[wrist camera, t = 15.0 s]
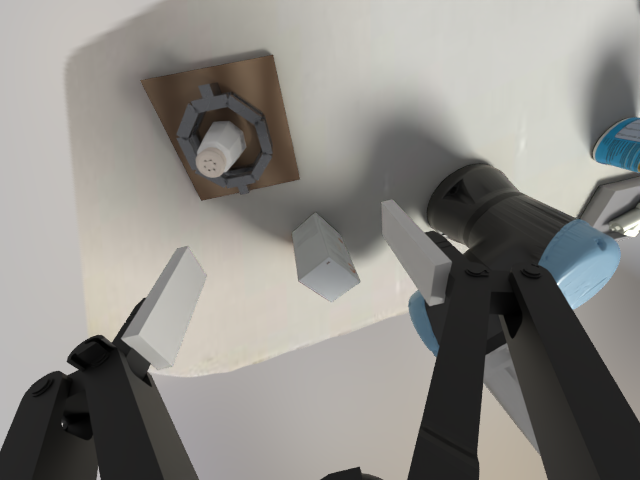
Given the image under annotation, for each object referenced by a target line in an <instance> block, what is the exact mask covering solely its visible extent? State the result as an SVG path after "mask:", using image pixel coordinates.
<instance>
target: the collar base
mask: <svg viewBox="0 0 640 480" xmlns="http://www.w3.org/2000/svg"><path fill="white" fill-rule="evenodd" d="M140 81H141V83H142V85H143V87H144V89H145V91H146V93H147V95H148V97H149V99H150V101H151V102H152V104H153V106H154V108H155V110H156V112H157V114H158V116H159V118H160V120H161V122H162V124H163V126H164V128H165V130H166V132H167V134H168V136H169V138H170V140H171V142H172V144H173V146H174V148H175V150H176V152H177V154H178V155H179V157H180V159H181V161H182V163H183V165H184V167H185V169H186V171H187V173H188V175H189V177H190V179H191V181H192V183H193V185H194V187H195V189H196V191H197V193H198V195H199V197H200V199H201V201H202V200H207V199H211V198H216V197H221V196H225V195H230V194H234V193H239V189H238V187H233V188H227V186H226V187H225V188H223V187H221V186H219V185H217V184H215V183H213V182H211V181H209V180H208V179H206V178H204V177H202V176H200V175H198V174H196V173H195V171H196V170H193V171H192V169H191V167H190V165H189V163H188V161H187V159H186V157H185V155H184V153H183V151H182V149H181V147H180V145H179V143H178V141H177V139H176V138H178V137H179V136H177V135H176V134H177V131H178V129H179V126H180V123H181V121H182V118H183V116H184V113H185V110H186V108H187V105H188V103H191V101H193V100H197V99H199V98H202V95H201V92H200V90H199V87H198V86H200V85H205V84H211V83H217V82H218V84H219V87H220V90H221V93H227V92H233V94H234V93H235V92H236V93H237V94H238V95H240V96H241V97H243V98H244V99H245V100H247V101H248V102H250V103H251V104H252V105H254V106H255V107H257V108H258V109H259V110H261V111H262V112H263V114H262V115H265V117H266V121H267V125H268V128H269V132H270V136H271V140H272V144H273V147H272V150H273V154H272V158H271V160H270V162H269V163H268V165H267V167H266V168H265V170H264V172H263V173H262V175H261V177H260V179H259V180H258V181H257V180H256V183H252V184H251V185H250V190H253V189H258V188H262V187H267V186H271V185H276V184H281V183H285V182H290V181H295V180H299V179H300V177H299V173H298V168H297V163H296V159H295V154H294V150H293V145H292V140H291V136H290V131H289V127H288V122H287V117H286V113H285V108H284V104H283V99H282V95H281V90H280V85H279V81H278V76H277V72H276V67H275V62H274V58H273V55H270V56H264V57H259V58H254V59H249V60H244V61H239V62H233V63H228V64H223V65H218V66H213V67H207V68H202V69H197V70H192V71H187V72H181V73H176V74H171V75H166V76H161V77H156V78H150V79H145V80H140ZM218 121H230V122H232V123H233V124H234V125H235V126H237V127H238V128H239V129H240V130H242V131H243V134H244V139H245V143H246V148H245V150H244V151H243V153H242V154H241V156H240V157H239V158H238V160H237V161H236V162H235V163H234V164H233V165H232V166H231V168H233V167H237V166H242V165H247V164H252V163H254V161H255V159H256V157H257V156H258V154H259V152H260V150H261V145H260V142H259V138H258V135H257V132H256V128H255V125H254V124H252V123H251V122H249V121H248V120H246V119H245V118H243V117H242V116H240V115H239V114H237V113H236V112H234V111H233V110H231V109H230V108H228V107H225V108H220V109H215V110H210V111H207V112H206V114H205V116H204V119H203V121H202V124H201V126H200V128H199V133H200V135H201V138H202V140H203V138H204V136H205V134H206V133H207V131H208V130H209V128H210V126H211V125H212V123H213V122H218Z"/></svg>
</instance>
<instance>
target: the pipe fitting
mask: <svg viewBox="0 0 640 480" xmlns="http://www.w3.org/2000/svg"><path fill="white" fill-rule="evenodd" d="M609 225H610V226H609V228H608V229H609V230H610V231H617V232H618V233H621V234H623V235H627V236H633V237H635V236H636V235H637V234H638V233H639V231H640V202H639V203H638V204H637V206H636V207H635V208H634V209H632V210H630V211H628V212H626V213H625V214H623V215H621V216H619V217H617V218H615V219H613V220H611V221H610V222H609Z"/></svg>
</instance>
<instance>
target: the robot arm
mask: <svg viewBox="0 0 640 480" xmlns="http://www.w3.org/2000/svg"><path fill="white" fill-rule="evenodd" d="M381 208H382V236H383V237H384V239H385V240H386V242H387V243H388V245H389V246H390V248H391V249H392V251H393V252H394V254H395V255H396V257H397V258H398V260H399V261H400V263H401V264H402V266H403V267H404V269H405V270H406V272H407V273H408V275H409V276H410V278H411V279H412V281H413V282H414V284H415V285H416V287H417V288H418V290H417V291H416V292H415V293H414V294H413V295H412V296H411V297H410V299H409V305H408V307H409V313H410V317H411V320H412V322H413V324H414V327H415V329H416V331H417V332H418V334H419V336H420V338H421V339H422V341H423V342H424V344H425V345H426V346H427V348H428V349H429V350H430V351H432V352H433V354H434V356H435V357H437V358H436V363H435V367H434V371H433V375H432V379H431V384H430V388H429V392H428V396H427V401H426V405H425V409H424V413H423V418H422V422H421V426H420V429H419V433H418V437H417V441H416V445H415V450H414V454H413V458H412V462H411V466H410V471H409V475H408V479H407V480H479V461H478V457H477V446H478V434H479V424H480V412H481V401H482V390H483V383H484V384H485V386H486V387H487V388H488V389H489V391H490V392H491V393H492V395H493V396H494V397H495V398H496V400H497V401H498V402H499V403H500V405H501V406H502V407H503V409H504V410H505V411H506V412H507V414H508V415H509V416H510V418H511V419H512V420H513V421H514V423H515V424H516V425H517V427H518V428H519V429H520V430H521V432H522V433H523V434H524V435H525V437H526V438H527V439H528V440H529V442H530V443H531V444H532V445H533V447H534V448H535V450H536V451H537V452H538V453H539V454H540V456H541V458H542V461H543V465H544V468H545V471H546V474H547V478H548V480H640V423H639V421H638V419H637V417H636V416H635V414H634V412H633V411H632V409H631V407H630V406H629V404H628V402H627V401H626V399H625V397H624V396H623V394H622V392H621V391H620V389H619V387H618V385H617V384H616V382H615V380H614V379H613V377H612V376H611V374H610V372H609V370H608V369H607V367H606V365H605V364H604V362H603V360H602V359H601V357H600V355H599V354H598V352H597V350H596V348H595V347H594V345H593V343H592V342H591V340H590V338H589V337H588V335H587V333H586V332H585V330H584V328H583V327H582V325H581V323H580V322H579V320H578V318H577V317H576V315H575V313H574V311H573V309H575V308H577V307H579V306H580V305H582V304H583V303H585V302H586V301H588V300H589V299H590V298H591V297H593V296H594V295H595V294H596V293H597V292H598V291H599V290H600V289H601V288H602V287H603V286H604V285H605V284H606V283H607V282H608V280H609V279H610V278H611V277H612V275H613V273H614V272H615V270H616V269H617V266H618V264H619V261H620V256H621V252H620V248H619V245H618V243H617V242H616V241H615V240H614V239H613V238H611V237H610V236H608V235H606V234H605V233H603V232H601V231H599V230H597V229H595V228H593V227H592V226H590V225H589V223H587V222H586V221H584V220H581V219H576V218H574V217H572V216H570V215H568V214H565V213H563V212H561V211H559V210H557V209H555V208H553V207H550V206H548V205H546V204H544V203H542V202H540V201H538V200H536V199H533V198H531V197H529V196H527V195H525V194H523V193H521V192H519V190H518V189H517V188H516V187H515V186H514V185H513V184H512V183H511V182H510V181H509V180H508V178H507V177H506V175H505V174H504V173H503V172H502V171H500V170H498V169H496V168H494V167H492V166H489V165H486V164H473V165H469V166H466V167H463V168H461V169H459V170H457V171H456V172H454V173H453V174H451V175H450V176H448V177H447V178H446V179H445V180H444V181H443V182H442V183H441V184H440V185H439V186H438V188H437V189H436V190H435V192H434V193H433V195H432V197H431V199H430V202H429V205H428V209H427V218H428V222H429V224H430V225H431V227H432V228H433V229H434V230H435V231H436V232H435V231H430V232H426V233H424V232H423V231H422V230H421V229H420V228H419V227H418V226H417V224H416V223H415V222H414V221H413V220H412V219H411V218H410V217H409V216H408V215H407V214H406V213H405V212H404V211H403V210H402V209H401V208H400V207H399V206H398V204H397V203H396V202H395V201H394V200H393V199H391V200H387V201H382V202H381ZM445 237H446V238H449V239H451V240H453V241H456V242H459V243H461V244H464V245H466V246H467V247H468V248H469V250H467V251H466V252H465V253H464V254H462V253H460V252H459V251H458V250H457V249H456V248H455V247H454V246H452V244H451V243H450V242H449V241H448V240H447V239H446V238H445ZM206 278H207V275H206V273H205V271H204V270H203V268H202V267H201V265H200V263H199V262H198V260H197V259H196V257H195V255H194V254H193V252H192V251H191V249H190V248H189V246H185V247H181V248H177V249H176V251H175V253H174V254H173V256H172V257H171V259H170V261H169V262H168V264H167V265H166V267H165V269H164V270H163V272H162V273H161V275H160V277H159V278H158V280H157V281H156V283H155V285H154V286H153V288H152V290H151V291H150V293H149V294H148V296H147V297H146V298H143V299H142V300H141V301H140V302H139V303H138V304H137V305H136V306H135V308H134V309H133V311H132V312H131V314H130V316H129V317H128V319H127V320H126V323H124V325H123V326H122V328H121V329H120V331H119V332H118V334H117V336H116V337H115V339H114V340H113V342H112V343H111V342H110V341H109V340H107V339H106V338H105V337H104V336H102V335H96V336H93V337H90V338H89V339H87V340H85V341H84V342H82V343H81V344H80V345H78V346H77V347H76V348H75V349H74V350H73V351H72V352H71V354H70V355H69V356H68V359H67V362H68V363H69V364H71V365H72V366H74V367H75V368H77V369H79V370H78V371H76V372H74V373H72V374H70V375H65V374H64V373H62V372H60V371H55V372H52V373H50V374H47V375H46V376H44V377H42V378H41V379H39V380H38V381H37V382H35V383H34V384H33V385H32V386H31V387H30V389H28V391H27V392H26V393H25V395H24V396H23V398H22V400H21V402H20V405H19V407H18V410H17V412H16V414H15V417H14V419H13V422H12V424H11V427H10V429H9V431H8V434H7V436H6V439H5V441H4V444H3V446H2V448H1V451H0V480H96V478H97V470H98V466H99V472H100V477H101V480H199V479H198V476H197V474H196V472H195V470H194V468H193V465H192V463H191V461H190V459H189V457H188V454H187V453H186V450H185V448H184V446H183V444H182V441H181V439H180V437H179V435H178V433H177V431H176V429H175V426H174V424H173V422H172V420H171V418H170V415H169V413H168V411H167V409H166V406H165V404H164V402H163V400H162V398H161V396H160V393H159V391H158V389H157V387H156V385H155V383H154V380H153V378H152V376H151V375H150V374H149V373H148V372H147V371H148V369H149V366H150V364H151V365H152V366H153V367H155V368H156V369H157V370H160V369H164V368H169V367H173V365H174V362H175V359H176V357H177V354H178V352H179V349H180V346H181V344H182V341H183V338H184V336H185V333H186V330H187V328H188V325H189V323H190V320H191V317H192V315H193V312H194V309H195V307H196V304H197V301H198V299H199V296H200V293H201V291H202V288H203V286H204V283H205V280H206ZM61 423H63V426H62V425H61ZM321 480H383V479H381V478H379V477H376V476H373V475H369V474H363V473H361V470H360V467H357V468H352V469H348V470H344V471H340V472H336V473H331V474H328V475H327V476H326V477H324V478H322V479H321Z"/></svg>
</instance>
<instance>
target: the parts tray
mask: <svg viewBox="0 0 640 480" xmlns="http://www.w3.org/2000/svg"><path fill="white" fill-rule="evenodd" d="M639 202H640V177H636V178H631V179H627V180H623V181H618V182H614V183H610V184H605V185H601V186H599V187H598V189H597V190H596V192H595V194H594V195H593V197H592V199H591V201H590V202H589V204H588V206H587V207H586V209H585V211H584V212H583V214H582V216H581V218H580V219H581V220H584V221H586V222H587V223H589V225H590V226H592V227H593V228H595V229H597V230H599V231H601V232H603V233H605V234H606V235H608V236H610V237H611V238H613V239H614V240H615V241H620V240H623V239H628V238H632V237H633V236H627V235H623V234H621V233H618V232H617V231H610V230H609V229H608V228H609V226H610V225H609V222H610V221H611V220H613V219H615V218H617V217H619V216H621V215H623V214H625V213H626V212H628V211H630V210H632V209H634V208H635V207H636V206H637V204H638V203H639ZM639 233H640V231H639ZM639 233H638V234H639ZM638 234H637V235H636V236H638ZM636 236H635V237H636Z"/></svg>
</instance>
